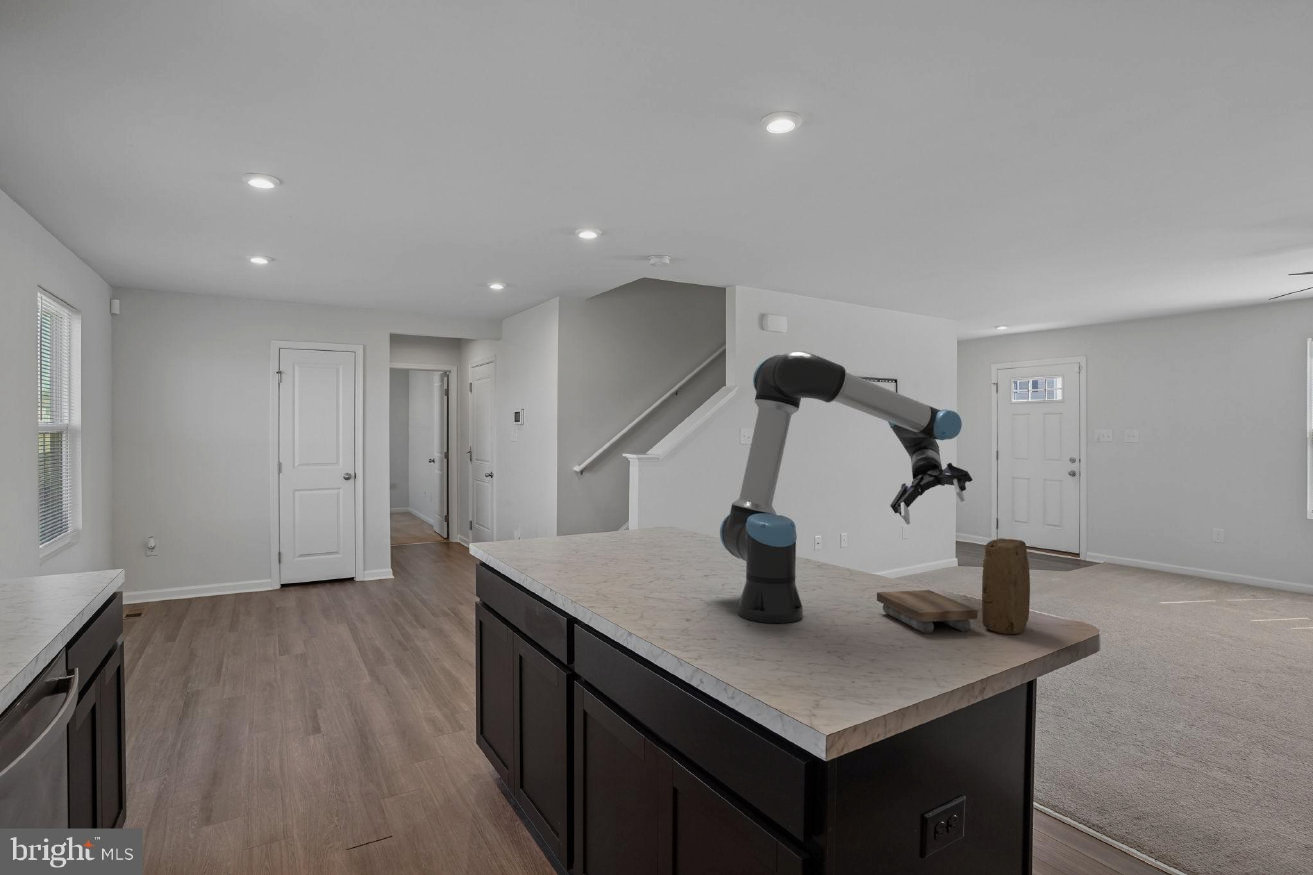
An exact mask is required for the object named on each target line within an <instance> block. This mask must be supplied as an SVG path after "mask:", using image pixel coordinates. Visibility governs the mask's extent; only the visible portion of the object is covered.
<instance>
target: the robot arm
mask: <svg viewBox="0 0 1313 875" xmlns="http://www.w3.org/2000/svg"><path fill="white" fill-rule="evenodd" d="M752 379H753V380H752V383H753V387H754V388H753V389H755V397H754V403H755V404H756V407H757V409H758V410H757V411H758V412H757V416H756V421H755V424H754V430H753V435H752V437H751V438H752V439H751V442H750V448H749V452H748V458H747V462H746V466H745V471H744V476H743V480H742V484H741V488H740V493H739V497H738V498H737V499H736V500H734V501H733V502H732V503H731V507H730V511H729V514H728V515H727V516H725V518H724V519H723V521H722V522H721V524H720V529H719V538H720V542H721V545H722V546H723V547H724V548H725V550H726V551H728V552H729V554H730V555H732V556H734V557H735V558H737V559H740V560H743V561H745V562H746V563H745V564H746V565H745V572H746V574H745V578H746V579H745V584H744V586H743V589H742V592H741V596H740V599H739V602H738V615H739V616H741V617H742V618H743V619H746V620H749V621H753V622H757V623H758V622H759V623H765V624H787V623H793V622H797V621H799V620H801V619H802V618H803V614H804V610H803V609H804V608H803V603H802V600H801V597H800V594H799V592H798V591H799V590H798V588H797V585H796V573H797V572H796V571H797V570H796V566H797V563H796V561H797V557H796V556H797V538H798V537H797V531H796V530H797V528H796V523H795V522H794V521H793V519H791V518H789V517H788V516H784V515H781V514H780V515H778V514H777V511H776V510H775V509H774V507H773V503H774V502H773V501H774V498H775V493H776V488H777V483H778V478H779V473H780V469H781V464H782V461H783V460H782V459H783V457H784V451H785V447H786V443H787V437H788V433H789V427H790V423H791V418H792V416H793V415H794V414H795V413H797V412H798V411H799V409H800V406H801V405H800V404H801V400H802V399H803V398H804V399H813V400H814V399H815V400H819V401H822V402H825V403H828V404H829V403H833V402H836V403H839V404H842V405H844V406H847V407H849V408H852V409H855V410H857V411H860V412H862V413H865V414H867V415H870V416H873V417H875V418H877V419H881V420H883V421H884V422H885V421H886V422H887V423H888V425H889V428H891V430H892V431H893V433H894V435H895V436H896V437H897V439H898V441H900V443H901V445H902V447H903V448H904V450H905V451H906V453H907V454H908V456H909V458H910V463H911V474H912V475H911V476H912V481H911V483H909V484H906V482H905V483H904V482H903V483H902V484H901V485H900V490H899V491H898V492H897V494H896V495H895V497H894V498H893V500H892V502H891V504H889V506H890V508H891V510H892V511H893V512H894V514H899V516H900V517H901V518H902V519H903V521H904V522H905V524H906V525H910V524H911V519H910V510H909V507H910V506H911V505H912V504H913V503H914V502H915V501H916V500H917V499H918V498H919V496H923V495H924V494H925V492H926V491H928V490H930V489H933V488H935V487H937V486H938V487H939V486H942V487H944V486H947V485H949V486H954V492H955V494H956V496H957V498H958V499H959V500H960V502H961V503H962V502H965V501H966V500H965V497H964V491H966V490H967V486H966V483H971V482H972V481H973V477H972V476H971V475H970V473H969V472H968V470H965V469H962V468H960V467H958V466H955V465H954V464H952V462H948V463H946V467H945V468H944V469H943V464H942V460H941V455H940V445H939V444H938V442H937V440H940V441H945V440H952V439H955V438H957V437H958V436H959V434H960V432H961V431H962V426H963V425H962V424H963V423H962V418H961V416H960V415H959V414H958V413H957V412H956V411H954V410H951V409H950V410H949V409H939V408H935V407H934V406H931V405H928V404H925V403H923V402H920V401H918V400H915V399H913V398H911V397H909V396H906V395H903V394H901V393H898V392H896V391H893V390H891V389H888V388H886V387H883V386H882V385H878V384H876V383H874V382H871V381H869V380H866V379H864V378H862V377H859V376H856V375H855V374H851V373H849V372H847V369H846V368H845V366H843V365H841V364H839V363H836V362H833V361H831V360H830V359H829V360H828V359H826V358H824V357H821V356H820V355H816V354H814V353H811V352H808V351H799V350H797V351H791V352H789V353H784V354H777V355H772V356H770V357H768V358H766V359H764V360H763V361H761V363H759V365H758V366H757V367H756V368H755V371H754V372H753V377H752Z"/></svg>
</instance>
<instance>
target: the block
mask: <svg viewBox="0 0 1313 875" xmlns="http://www.w3.org/2000/svg"><path fill="white" fill-rule="evenodd" d="M984 552H985V553H984V558H983V560H982V561H983V564H982V576H981V579H982V580H981V581H982V583H981V588H982V589H981V614H982V625H983V628H985V629H986V630H989V631H992V632H995V633H998V634H1002V635H1020V634H1021V633H1023V632H1024V630H1025V629H1026V626H1027V623H1028V622H1029V615H1030V606H1031V605H1030V604H1031V603H1030V600H1031V597H1030V596H1031V578H1030V563H1029V559H1028V555H1027V552H1028V550H1027V545H1026V542H1025V541H1024V540H1020V539H1012V538H1011V539H1010V538H997V539H992V540H990V541H988V542H987V543H986V544H985V546H984Z"/></svg>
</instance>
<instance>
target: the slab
mask: <svg viewBox="0 0 1313 875" xmlns="http://www.w3.org/2000/svg"><path fill="white" fill-rule="evenodd" d="M876 601H877V602H878V603H881V604H883V605H882V610H883V613H884V614H887V615H889V616H890V617H893V618H895V619H896V620H898V621H900V622H902V623H904V624H907V625H908V626H909V627H911V628H914V629H916V630H917V631H919V632H921V633H923V634H926V635H927V634H930V633H932V632H933V631H934V627H935V626H934V622H942V623H944V624H945V625H947V626H950V627H952V628H953V629H954V628H955V629H956V630H958V631H961V632H967V631H969V629H970V628H971V622H970V620H978V616H979V615H978V609H977V608H974V607H972V606H969V605H967V604H965V603H963V602H960V601H957V600H955V599H952V598H949V597H948V596H946V595H945V596H944V595H942V594H940V593H937V592H935V591H932V590H930V589H925V590H924V589H922V590H904V591H903V590H901V591H880V592H879V591H878V592H876Z"/></svg>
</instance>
